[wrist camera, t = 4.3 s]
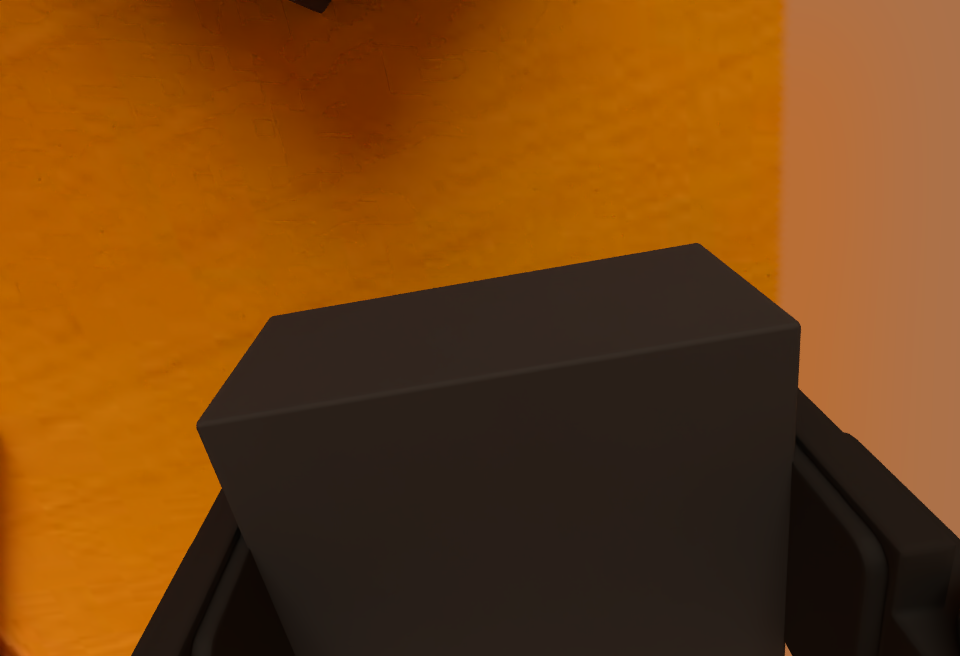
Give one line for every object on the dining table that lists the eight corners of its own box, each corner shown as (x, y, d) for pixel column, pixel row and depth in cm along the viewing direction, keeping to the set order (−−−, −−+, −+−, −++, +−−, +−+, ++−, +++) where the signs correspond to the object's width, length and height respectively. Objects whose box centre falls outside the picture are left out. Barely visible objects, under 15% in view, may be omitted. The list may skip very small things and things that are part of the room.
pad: (270, 315, 9) (192, 424, 7) (699, 241, 9) (803, 322, 6) (372, 618, 12) (347, 786, 9) (707, 567, 12) (783, 724, 9)
